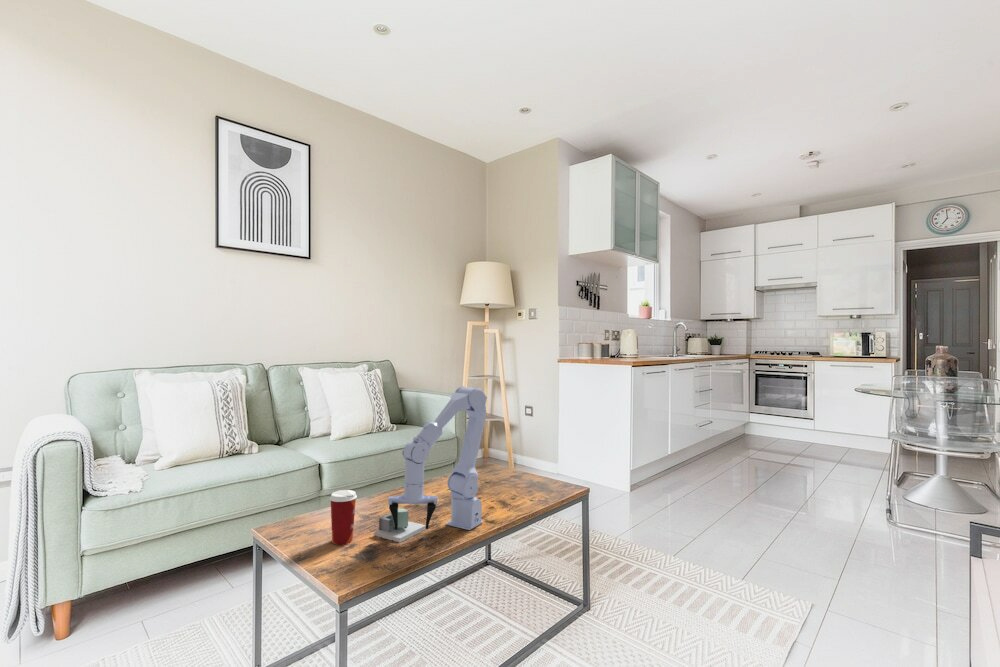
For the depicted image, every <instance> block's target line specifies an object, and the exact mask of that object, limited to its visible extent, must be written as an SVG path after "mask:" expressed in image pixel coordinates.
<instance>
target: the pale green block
mask: <svg viewBox="0 0 1000 667" xmlns="http://www.w3.org/2000/svg"><path fill="white" fill-rule="evenodd" d="M391 519H392V527H395V524H394V520H393V516H392V514H391ZM408 521H409V510H407V509H405V508H398V527H404V528H407V527H408Z"/></svg>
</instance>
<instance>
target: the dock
mask: <svg viewBox="0 0 1000 667" xmlns="http://www.w3.org/2000/svg"><path fill="white" fill-rule="evenodd" d="M426 530H427V529H426V524H422V523H416V522H413V521H409V520H408V527H407V528H404V527H398V528H397V530H395V527H392V519H391V512H390V513H388V514H386V515H382V516H381V517H379V519H378V529H377V530H375V531H374V536H375V537H379V538H381V537H382V539H386V540H389V541H392V540H393V542H396V543H402V542H404V541H406V540H407V539H410V538H411V537H413V536H415V535H417V534H419V533H422V532H423V531H426Z"/></svg>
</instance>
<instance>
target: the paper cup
mask: <svg viewBox="0 0 1000 667" xmlns="http://www.w3.org/2000/svg"><path fill="white" fill-rule="evenodd" d="M357 498H358V496H357V494H356V491H355V490H352V489H340V490H336V491H334V492H332V493H331V494H330V497H329V500H330V520H331V541H332V544H333V545H334V544H336V545H335V546H344V545H343V544H346V545H349V544H350V542H351V541H352V542H353V537H354V524H355V515H356V514H355V512H356V511H355V510H356V499H357ZM352 542H351V543H352ZM348 543H349V544H348Z"/></svg>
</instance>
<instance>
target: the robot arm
mask: <svg viewBox="0 0 1000 667" xmlns="http://www.w3.org/2000/svg"><path fill="white" fill-rule="evenodd" d="M487 398H488V397H487V395H486V394H485V392H484V390H483V389H481V388H480V387H476V388H474V387H466V386H463V385H462V386H459V387H457V389H456V390H455V391H454V392H453V393H451V397H450V400H449V401H448V402H447V404H445V406H444V408H443V409H442V410H441V411H440V413H439V414H438V415H437V417H436V418H435V420H434V421H430V422H428V423H427V424H426V423H425V424H424V425H423V426H422V429H421V430H420V431H419V433H418V434H417V435H416V436H414V437H413V439H412V441H409V442H407V443H406V444H405V445H404V448H403V450H401V454H402V456H403V458H404V464H405V466H404V480H403V481H404V484H403V485H404V488H403V494H401V495H391V496H388V502H387V503H388V504H387V505H388V508H389V509H388V510H389V511H390V513H391V514H392V516H393V520H394V524H395V530H397V528H398V509H399V505H413V504H415V505H418V504H419V505H420V504H422V505H423V504H424V505H425V504H426V505H427V506H426V519H425V525H426V529H425V530H429V524H430V522H431V519H432V516H433V514H434V511H436V508H437V505H438V499H439V498H438V495H426V494H424V481H425V479H424V478H425V462H426V460H427V459H428V458H429V456H430V451H431V449H432V447H433V446H434V445H435V444H436V443H437V441H438V440H439V439H440V438H441V437H442V435H443V428H445V426H446V425H448V423H449V422H450V421H451V420H452V419H453V418H454V417H455V416H456V415H457V414H458V412H460V411H465V412H466V414H467V415H468V422H467V426H466V430H465V434H464V437H463V438H464V439H463V442H462V446H461V452H460V456H459V460H458V463H457V464H455V466H454V467H453V468H452V472H451V474H450V475H449V476H448V478H447V481H446V482H447V483H446V484H447V488H448V490H449V491H450V495H451V507H450V508H451V509H450V510H451V511H450V512H451V513H450V514H451V516H450V520H449V521H446V522H445V525H447V526H450V527H455V528H458V529H463V530H466V531H467V530H468V531H470V530H472V529H474V528H476V527H477V526H479V525H481V524H482V522H483V520H482V510H483V509H482V500H481V499H480V498H478V497H476V496H475V495H476V494H477V492H479V480H478V479H479V476H480V475H479V473H478V472H477V469H476V464H477V459H478V454H479V450H480V447H481V446H480V445H481V443H482V442H481V440H482V436H483V431H484V427H485V424H486V423H485V422H486V418H487V406H486V403H487ZM483 523H484V522H483Z"/></svg>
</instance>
